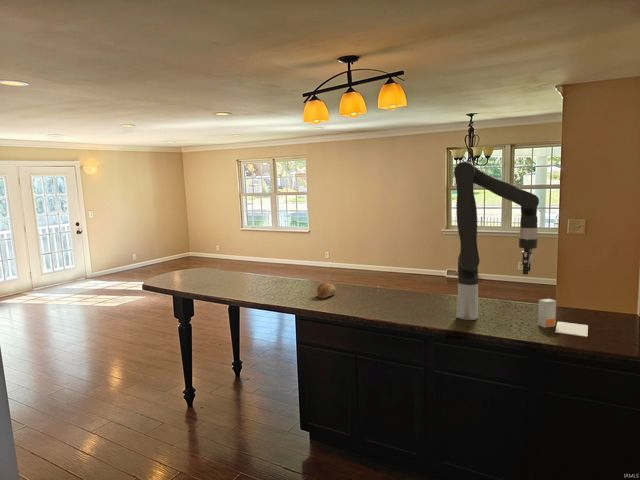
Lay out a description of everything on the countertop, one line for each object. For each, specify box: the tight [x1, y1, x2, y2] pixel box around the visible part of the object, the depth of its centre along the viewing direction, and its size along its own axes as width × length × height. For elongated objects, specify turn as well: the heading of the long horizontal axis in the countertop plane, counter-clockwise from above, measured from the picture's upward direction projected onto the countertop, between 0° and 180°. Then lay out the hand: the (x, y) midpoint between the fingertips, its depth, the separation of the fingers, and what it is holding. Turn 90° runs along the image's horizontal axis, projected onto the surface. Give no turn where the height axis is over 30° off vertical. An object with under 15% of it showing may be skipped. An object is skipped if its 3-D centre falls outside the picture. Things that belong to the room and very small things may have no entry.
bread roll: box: [316, 282, 337, 299], centre depth 257 cm, size 10×15×8 cm, turn 150°
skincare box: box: [537, 298, 557, 328], centre depth 195 cm, size 6×4×12 cm
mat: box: [554, 321, 589, 338], centre depth 190 cm, size 12×16×1 cm
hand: (526, 272), depth 198 cm, fingers open, 8 cm apart
